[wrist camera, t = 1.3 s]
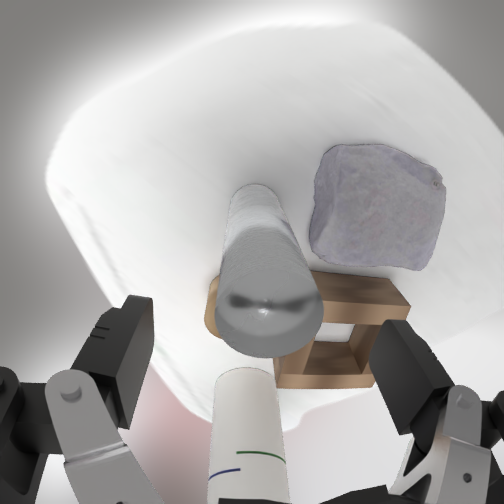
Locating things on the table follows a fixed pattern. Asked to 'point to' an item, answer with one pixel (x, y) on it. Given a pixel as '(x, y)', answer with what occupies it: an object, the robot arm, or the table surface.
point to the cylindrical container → (247, 439)
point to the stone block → (376, 208)
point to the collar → (361, 340)
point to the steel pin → (264, 280)
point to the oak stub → (212, 308)
